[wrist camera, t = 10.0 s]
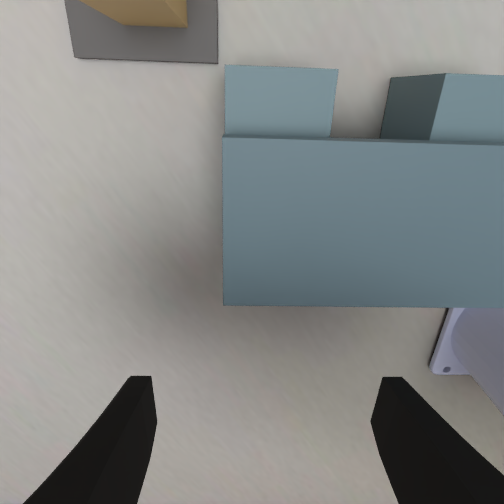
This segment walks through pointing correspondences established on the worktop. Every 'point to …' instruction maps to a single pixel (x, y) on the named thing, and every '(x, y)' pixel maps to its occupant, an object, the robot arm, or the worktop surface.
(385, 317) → the worktop surface
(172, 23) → the tan grooved block
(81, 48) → the pad
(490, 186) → the teal block stack
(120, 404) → the robot arm
